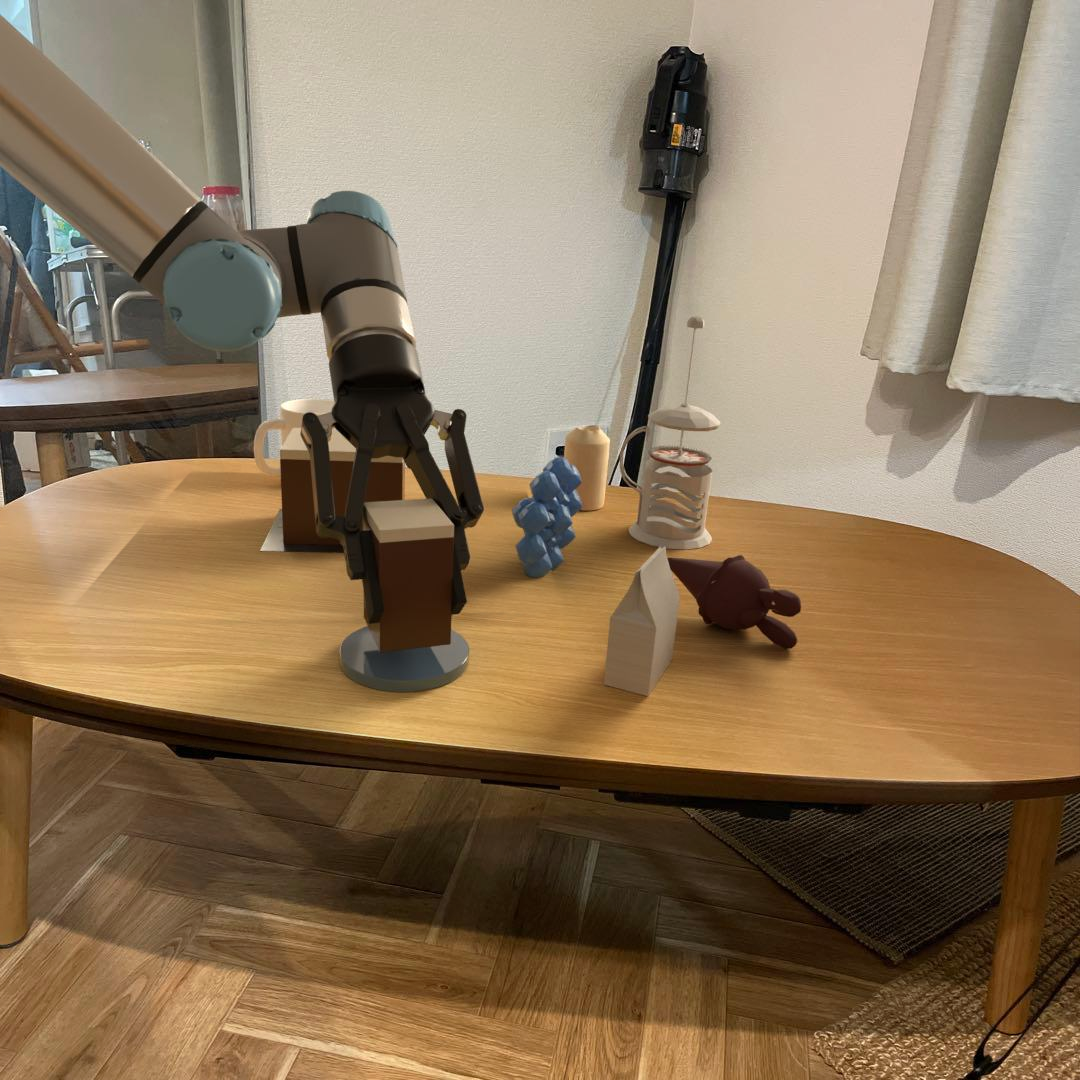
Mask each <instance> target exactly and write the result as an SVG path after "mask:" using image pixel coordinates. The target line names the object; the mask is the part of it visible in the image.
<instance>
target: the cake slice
mask: <svg viewBox="0 0 1080 1080" xmlns="http://www.w3.org/2000/svg"><path fill="white" fill-rule="evenodd" d="M365 530H371V534H372V540H373V546H374V552H375V558H376V565H377V571H378V577H379V583H380V588H381V595H382V601H383V607H384V612H383V614H382V616H381V619H380V621H379V623H372V624H369V622H368V615H367V609H366V602H365V596H364V595H363V618H364V621H365V623H366V626H368V627H369V630H370V632H371V634H372V636H373V638H374V641H375V643H376V645H377V647H378V649H379V652H380V653H384V652H392V651H400V650H408V649H417V648H425V647H433V646H441V645H449V644H451V629H452V579H453V546H454V524H453V523H452V522H451V521H450V520H449V518H448V517H447V516H446V515H445V514H444V512H443V511H442V510H441V509H440V507H439V506H438V505H437V504H436V503H435V501H434V500H433V499H432V498H429V499H426V498H416V499H415V498H414V499H405V500H396V501H380V502H364V506H363V531H365Z"/></svg>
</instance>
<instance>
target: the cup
mask: <svg viewBox="0 0 1080 1080" xmlns="http://www.w3.org/2000/svg"><path fill="white" fill-rule="evenodd" d="M333 405H334V399H326V398H301V399H300V398H299V399H293V400H287V401H285V402H282V403H281V404H280V406H279V412H280V413H279V414H280V416H279V417H280V418H272V419H267V420H264V421H263V422H261V423H260V424H259V426H258V428H257V429H256V432H255V435H254V440H253V456H254V461H255V464H256V467H257V468H258V469H259V471H260V472H261V473H262V474H264V475H266V476H268V477H272V478H281V471H280V466H270V465H269V464H268V463H267V462H266V460H265V456H264V441H265V438H266V434H267V433H268V432H269V431H272V430H280V437H281V439H280V440H281V446H282V445H283V444H284V442H285V440H286V439H287V437H288V435H289V434H290V432H291V430H292V429H293V428H301V425H302V418H303V415H304V414H305V413H308V412H311V413H314V414H316V415H317V416H319V415H323V414H326V413H329V412H332V407H333ZM333 429H335V428H333Z"/></svg>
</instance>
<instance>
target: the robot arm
mask: <svg viewBox="0 0 1080 1080" xmlns="http://www.w3.org/2000/svg"><path fill="white" fill-rule="evenodd" d="M0 168H2V169H3V170H4V171H5V172H7V174H9V175H10V176H11V177H12V178H14V179H15V180H16V181H17V182H18V183H19V184H21V185H22V186H23V187H24V188H26V189H27V190H28V191H29V192H30V193H31V194H33V195H34V196H35V197H36V198H38V199H39V201H41V202H42V203H43V204H45V206H47V207H48V208H49V209H51V211H53V212H54V213H55V214H56V215H58V216H59V217H60V218H61V219H62V220H63V221H65V222H66V223H67V224H69V225H70V226H71V227H72V228H73V229H74V230H75V231H77V232H78V233H79V234H80V235H81V236H83V237H84V238H85V239H86V240H87V241H88V242H90V243H91V244H92V245H93V246H95V247H96V248H97V249H98V250H99V251H101V252H102V253H103V254H104V255H105V256H107V257H108V258H109V259H110V260H111V261H112V262H114V263H115V264H116V265H117V266H119V267H120V269H122V270H123V271H124V272H126V273H127V274H128V275H129V276H130V277H132V278H133V279H134V280H135V281H136V282H137V283H138V284H139V285H140V286H141V287H142V288H143V289H144V290H145V291H147V292H148V293H149V294H150V295H151V296H152V297H154V298H155V299H156V300H157V301H158V302H160V303H161V304H162V305H163V306H164V307H165V309H166V312H167V314H168V316H169V318H170V319H171V321H172V323H173V325H174V326H175V327H176V329H177V330H178V331H179V332H180V333H181V335H183V336H184V337H185V338H186V339H187V340H189V341H190V342H192V343H194V344H195V345H196V346H197V345H198V346H199V347H201V348H204V349H207V350H210V351H215V352H223V353H225V352H237V351H240V350H241V351H242V350H244V349H246V348H249V347H251V346H252V345H254V344H256V343H257V342H258V341H260V340H261V339H263V338H265V337H266V336H267V335H268V334H269V333H270V332H271V331H272V330H273V328H274V327H275V326H276V321H277V320H278V318H279V319H280V318H287V317H293V316H294V317H295V316H306V315H312V314H319V313H320V317H321V321H322V327H323V328H322V329H323V335H324V341H325V348H326V356H327V358H328V360H329V361H328V370H329V376H330V382H331V389H332V395H333V400H334V405H333V407H332V412H329V413H326V414H323V415H319V416H317V415H316V414H314V413H311V412H308V413H305V414H304V415H303V418H302V425H301V433H300V435H301V438H302V440H303V442H304V444H305V445H306V447H307V449H308V451H309V453H310V463H311V475H312V487H313V499H314V511H315V522H316V532H317V535H318V536H319V537H321V538H328V537H332V538H336V539H338V540H340V543H341V545H342V546H343V548H344V553H343V555H344V562H345V567H346V574H347V577H348V578H349V580H350V581H358V580H361V581H362V582H361V583H362V588H363V589H362V590H363V597H364V596H365V602H366V609H367V615H368V622H369V624H372V623H379V621H380V619H381V616H382V614H383V612H384V607H383V601H382V595H381V588H380V583H379V577H378V571H377V565H376V558H375V552H374V546H373V540H372V534H371V530H365V531H361V533H360V524H361V518H362V512H363V506H364V500H365V494H366V488H367V482H368V476H369V470H370V464H371V459H374V458H381V457H385V456H392V457H402V458H403V460H404V462H405V467H406V468H407V469H409V470H411V472H412V474H413V476H414V478H415V480H416V482H417V484H418V486H419V487H420V490H421V491H422V494H423V495H424V497H425V499H429V498H432V499H433V500H434V501H435V503H436V504H437V505H438V506H439V507H440V509H441V510H442V511H443V512H444V514H445V515H446V516H447V517H448V518H449V520H450V521H451V522H452V523H453V524H454V546H453V579H452V615H453V616H455V615H460V613H461V612H462V611H463V609H464V607H465V606H466V605H467V603H468V600H467V599H468V598H467V594H466V588H465V585H464V580H463V575H462V571H465V570H466V569H467V567H468V565H469V564H470V561H471V554H470V550H469V546H468V545H469V544H468V539H467V535H466V529H468V528H474V527H476V525H477V524H478V522H479V520H480V519H481V517H482V515H483V513H484V511H485V507H484V503H483V499H482V496H481V491H480V487H479V483H478V480H477V476H476V473H475V468H474V465H473V461H472V458H471V453H470V449H469V446H468V441H467V438H466V435H465V434H466V433H465V431H466V424H467V413H466V411H465V410H463V409H461V408H457V409H454V410H453V412H452V413H450V412H445V411H442V410H438V409H435V407H434V405H433V403H432V402H431V401H430V399H429V398H428V396H427V394H426V389H425V382H424V378H423V373H422V368H421V363H420V358H419V353H418V351H417V349H416V348H417V343H416V337H415V332H414V328H413V323H412V318H411V314H410V309H409V304H408V299H407V293H406V288H405V282H404V276H403V272H402V265H401V259H400V254H399V249H398V242H397V240H396V238H395V236H394V231H393V229H392V225H391V224H392V223H391V220H390V217H389V214H388V212H387V211H386V209H385V208H384V206H383V205H382V204H381V203H380V202H379V201H378V200H377V199H375V198H374V197H372V196H370V195H368V194H366V193H363V192H359V191H355V190H339V191H333V192H331V193H330V194H329V195H328V196H327V197H324V198H319V199H317V200H316V201H315V202H314V204H313V205H312V206H311V208H310V209H309V211H308V212H307V219H306V221H307V222H306V223H300V224H296V225H287V226H285V227H271V228H269V227H268V228H256V229H255V228H253V229H240V230H236V229H235V228H234V227H233V226H232V225H231V224H229V223H228V222H227V221H226V220H225V219H224V218H223V217H222V216H220V214H218V213H217V212H216V211H215V210H214V209H212V207H210V206H208V205H207V204H206V203H205V202H204V201H203V200H202V199H201V198H200V197H199V196H198V195H197V194H196V193H195V192H194V191H193V190H191V188H190V187H189V186H187V184H185V183H184V182H183V180H181V179H180V178H179V177H178V176H176V175H175V174H174V173H173V172H172V171H171V170H170V169H169V168H168V167H167V166H166V165H164V163H163V162H162V161H160V160H159V158H157V157H156V156H155V155H154V154H153V153H152V152H151V151H150V150H148V149H147V148H146V147H145V146H144V145H143V144H142V143H141V142H140V141H139V140H138V139H136V137H134V136H133V135H132V134H131V133H130V132H129V131H128V130H127V129H125V128H124V127H123V126H122V124H120V123H119V122H118V121H117V120H116V119H115V118H114V117H113V116H111V114H110V113H108V112H107V111H106V110H105V109H104V108H102V107H101V105H99V103H97V102H96V101H95V100H94V99H93V98H92V97H91V96H90V95H88V93H86V91H85V90H83V89H82V88H81V87H80V86H79V85H78V84H77V83H75V82H74V81H73V79H71V78H70V77H69V76H68V75H67V74H66V73H65V72H64V71H63V70H62V69H60V68H59V67H58V66H57V65H56V64H55V63H54V62H53V61H52V60H51V59H49V58H48V57H47V56H46V55H45V54H44V53H43V52H42V51H41V49H39V48H38V47H37V46H35V45H34V44H33V43H32V42H31V40H29V39H28V38H27V37H26V36H24V35H23V34H22V33H21V31H19V30H18V29H17V28H16V27H15V26H14V25H13V24H12V23H11V22H9V21H8V19H6V18H5V17H4V16H3V15H2V14H1V13H0ZM431 426H433V427H434V428H435V429H436V431H437V435H438V437H439V439H440V440H441V441H444V453H445V457H446V461H447V465H448V469H449V472H450V477H451V480H452V481H451V482H452V484H453V489H454V492H455V493H454V494H455V496H456V497H455V496H454V494H453V492H452V491H451V489H450V487H449V485H448V483H447V481H446V479H445V477H444V475H443V474H442V471H441V470H440V468H439V466H438V464H437V461H436V460H435V458H434V457H433V454H432V453H431V450H430V445H429V442H428V440H427V438H426V436H425V435H426V433H427V432H428V429H429V428H430V427H431ZM333 428H335V429H336V430H337V431H338V432H339V433H340V434H341V435H342V436H343V437H344V438H346V439H347V440H348V441H349V442H350V443H351V444H352V445H353V446H354V447H355V448H356V451H355V457H354V463H353V470H352V475H351V481H350V487H349V493H348V498H347V504H346V510H345V515H344V517H340V516H335V509H334V498H333V488H332V477H331V466H330V456H329V445H328V442H329V441H330V440H331V435H332V429H333ZM452 615H451V616H452Z"/></svg>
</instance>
